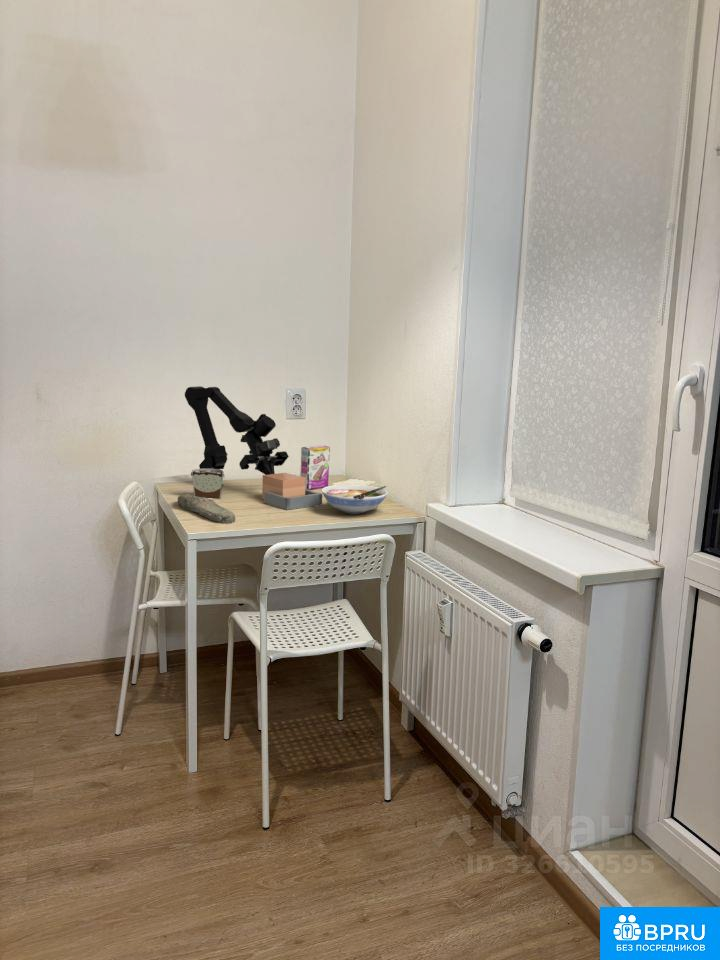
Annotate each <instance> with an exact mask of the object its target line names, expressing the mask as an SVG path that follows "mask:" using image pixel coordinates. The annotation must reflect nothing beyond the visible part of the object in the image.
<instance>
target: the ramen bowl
mask: <svg viewBox="0 0 720 960" xmlns="http://www.w3.org/2000/svg"><path fill="white" fill-rule="evenodd" d="M387 487H388V486H386V485H384V486H381V487H379V486H373V485H367V484H365V485H363V484H336V485H335V484H333V485H328V487H324V488H320V489H321V492H322V496H324V498H325V500H326V501H327V503H328V505H330V506H331V507H333V508H335V509H337V510H339V511H342V512H343V513H345V514H350V515H351V514H352V515H360V514H359V513H361V514H364V513H365V512H367V511H371V510H373V509H376V508H377V507H379V505H381V504H382V503H383V501H384V500H385V498H386V497H387V495H388V493H389V492H388V491H387V490H386V489H385V488H387Z"/></svg>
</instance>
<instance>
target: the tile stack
mask: <svg viewBox="0 0 720 960" xmlns="http://www.w3.org/2000/svg"><path fill="white" fill-rule="evenodd" d="M305 480H306V478H305V477H301V476H300V475H296V474H292V473H287V472H279V473H275V474H269V475H265V474H262V491H261V492H262V494H261V495H262V497H261V500H262V499H263V500H262V501H265V492H270V493H273V494H277V495H280V496H284V497H287V498H289V497H297V496H304V495H305Z"/></svg>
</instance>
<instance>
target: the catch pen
mask: <svg viewBox="0 0 720 960" xmlns="http://www.w3.org/2000/svg"><path fill="white" fill-rule="evenodd" d="M265 503H266V504H265ZM264 504H265V505H269V504H270V505H269V506H272V505H273V506H272V507H275V506H276V507H275V508H278V507H279V509H281V510H285V509H286V510H285V511H290V510H289V509H292V510H296V508H298V509H303V507H305V508H310V507H317V506H322V505H323V493H320V492H317V491H314V490H313V491H312V490H306V489H305V495H304V496H297V497H289V498H287V497H284V496H280V495H277V494H273V493H270V492H265V500H264Z"/></svg>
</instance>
